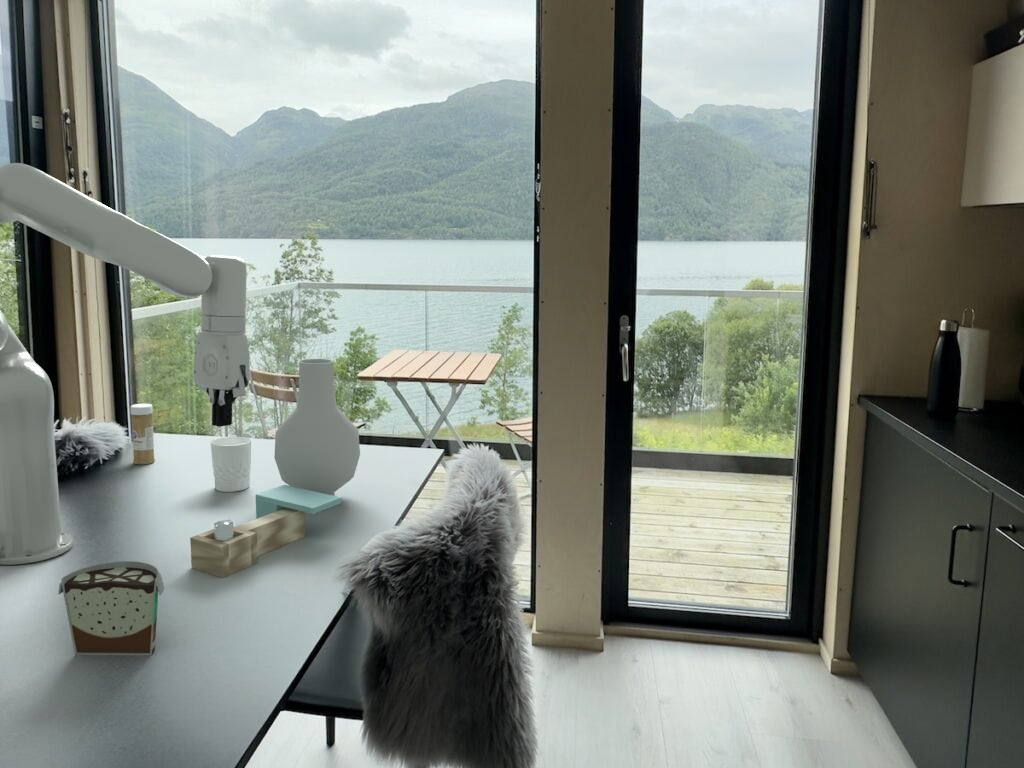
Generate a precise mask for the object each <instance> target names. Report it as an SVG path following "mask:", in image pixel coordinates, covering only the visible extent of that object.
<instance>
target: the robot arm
mask: <svg viewBox="0 0 1024 768" xmlns="http://www.w3.org/2000/svg"><path fill="white" fill-rule="evenodd" d="M16 221H17V222H19V223H22V224H24V225H25V226H28V227H30V228H32V229H34V230H36V231H37V232H40V233H42V234H44V235H46V236H48V237H50V238H52V239H53V240H56V241H58V242H60V243H62V244H64V245H66V246H68V247H70V248H72V249H74V250H75V251H78V252H79V253H82V254H84V255H86V256H89V257H91V258H93V259H96V260H97V261H98V260H99V261H102V262H104V263H110V264H112V265H115V266H118V267H120V268H124V269H125V270H128V271H131V272H132V273H135V274H137V275H139V276H141V277H143V278H145V279H147V280H150V281H151V282H153V283H154V284H155V286H156V287H157V288H158V289H160V290H161V291H163V292H164V293H167V294H170V295H173V296H177V297H182V298H187V299H192V298H193V299H194V298H197V297H201V298H200V299H201V300H200V301H201V302H200V303H201V305H200V306H201V311H200V312H201V315H200V317H201V319H200V322H201V323H200V324H201V325H200V327H201V328H200V330H199V331H198V332H197V333H198V334H197V337H196V343H195V348H194V354H193V355H194V358H193V372H192V373H193V376H192V377H193V382H194V384H196V385H197V386H199V389H200V390H201V391H202V392H203V391H204V392H205V393H207V394H208V395H207V396H208V397H209V403H210V404H211V425H212V426H213V427H219V428H221V427H226V426H231V425H233V424H232V423H233V405H234V404H235V403H236V400H237V398H240V397H245V396H246V395H247V393H246V388H247V387H248V386H249V385H250V372H251V365H250V351H249V349H250V348H249V344H248V343H249V342H248V336H247V334H246V323H247V322H246V319H247V318H246V315H247V314H246V312H247V310H246V309H247V263H246V261H245V260H244V259H243V258H241V257H237V256H228V255H207V256H202V255H200V254H198V253H196V252H195V251H193V250H192V249H189V248H188V247H186V246H184V245H182V244H180V243H179V242H177V241H174V240H173V239H171V238H169V237H167V236H166V235H164V234H162V233H159V232H157V231H155V230H153V229H151V228H149V227H148V226H145V225H143V224H141V223H139V222H137V221H135V220H134V219H132V218H130V217H128V216H126V215H125V214H123V213H121V212H118V211H116V210H115V209H112V208H111V207H108V206H107V205H105V204H103V203H102V202H100V201H97V200H95V199H94V198H91V197H90V196H88V195H87V194H84V193H82V192H81V191H79V190H77V189H75V188H73V187H71V186H69V185H68V184H66V183H64V182H63V181H61V180H59V179H57V178H55V177H53V176H52V175H50V174H48V173H46V172H44V171H42V170H40V169H38V168H36V167H34V166H31V165H28V164H25V163H22V162H21V163H20V162H12V163H7V164H4V165H2V166H0V225H2V224H8V223H11V222H13V223H14V222H16ZM50 379H51V378H50V377H49V375H48V374H47V373H46V370H44V369H43V368H42V367H41V366H40V365H39V364H38V363H36V361H35V360H34V359H33V357H32V356H31V355H30V353H29V351H27V348H25V346H24V345H23V343H22V341H21V340H20V339H19V337H18V336H17V334H16V333H15V331H14V330H13V328H12V327H11V326H10V325H9V323H8V321H7V319H6V317H5V314H4V313H3V312H2V310H1V309H0V565H5V566H7V565H24V564H25V565H26V564H32V563H36V562H42V561H46V560H49V559H53V558H55V557H58V556H61V555H62V554H64V553H66V552H68V551H69V550H70V549H71V548H72V547H73V544H74V538H73V536H72V535H71V534H70V533H67V532H64V531H62V521H61V510H60V509H61V508H60V496H59V495H60V494H59V482H58V481H59V480H58V469H57V467H58V466H57V454H56V442H55V440H56V438H55V428H54V427H55V426H54V425H55V423H54V422H55V418H54V417H55V397H54V396H55V395H54V389H53V385H52V381H51V380H50Z"/></svg>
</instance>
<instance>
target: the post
mask: <svg viewBox="0 0 1024 768" xmlns="http://www.w3.org/2000/svg"><path fill="white" fill-rule="evenodd" d="M213 526H214V528H213V529H215V540H216V541H220V542H225V541H227V540H230V539H232V538H234V530H233V527H234V521H233V520H230V519H229V520H228V519H227V520H226V519H224V520H223V519H222V520H219V521H216V522H214V525H213Z"/></svg>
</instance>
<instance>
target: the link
mask: <svg viewBox="0 0 1024 768" xmlns="http://www.w3.org/2000/svg"><path fill="white" fill-rule="evenodd" d="M305 513H306V512H303V511H299V510H295V509H291V508H284V509H282V510H279V511H276V512H274V513H271V514H268V515H266V516H263V517H260V518H257V519H256V518H255V519H252V520H250V521H247V522H245V523H241V524H239V525H236V526H233V530H234V538H232V539H230V540H227V541H225V542H220V541H216V540H215V528H213V529H210V530H207V531H205V532H201V533H199V534H196V535H194V536H191V537H189V538H190V543H189V544H190V558H191V559H190V560H191V561H190V562H191V569H192V570H193V569H194V570H197V571H200V572H202V573H207V574H210V575H213V576H215V577H220V578H222V579H223V578H225V577H226V578H227V576H231V575H233V574H235V573H238V572H239V571H242V570H244V569H246V568H249V567H251V566H253V565H255V564H258V556H259V557H260V556H262V555H264V554H266V553H268V552H271V551H274V550H275V549H278V548H280V547H283V546H285V545H288V544H290V543H292V542H294V541H297V540H299V539H302V538H304V537H306V524H305Z"/></svg>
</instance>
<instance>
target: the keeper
mask: <svg viewBox="0 0 1024 768" xmlns="http://www.w3.org/2000/svg"><path fill="white" fill-rule="evenodd" d="M339 504H342V497H341V496H336V495H335V496H332V495H328V494H323V493H319V492H315V491H310V490H306V489H301V488H297V487H293V486H289V485H288V484H283V485H280V486H277V487H274V488H270V489H267V490H265V491H262V492H258V493H256V494H255V519H257V518H260V517H263V516H266V515H268V514H271V513H274V512H276V511H279V510H282V509H284V508H291V509H295V510H299V511H303V512H305V525H306V524H307V522H306V518H307V517H306V516H307V515H306V513H308V514H312V515H315V514H317V513H319V512H321V511H324V510H326V509H327V510H328V509H329V508H331V507H335V506H337V505H339Z"/></svg>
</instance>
